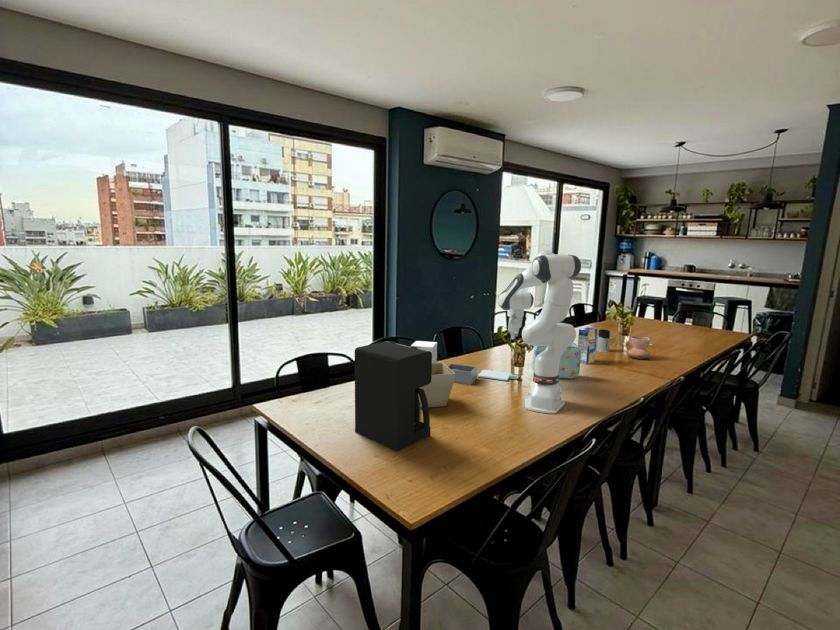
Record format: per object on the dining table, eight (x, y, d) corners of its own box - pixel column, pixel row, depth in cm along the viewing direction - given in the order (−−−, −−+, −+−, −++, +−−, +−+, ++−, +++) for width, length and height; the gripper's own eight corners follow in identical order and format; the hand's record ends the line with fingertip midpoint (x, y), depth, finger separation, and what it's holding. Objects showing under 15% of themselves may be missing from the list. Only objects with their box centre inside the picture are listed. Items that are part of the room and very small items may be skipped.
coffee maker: (439, 438, 173) (441, 351, 167) (405, 455, 158) (406, 360, 153) (389, 418, 191) (389, 339, 186) (354, 432, 177) (353, 347, 171)
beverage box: (576, 362, 289) (578, 329, 286) (585, 359, 296) (587, 327, 293) (586, 364, 284) (588, 330, 281) (594, 361, 291) (597, 328, 288)
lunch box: (577, 375, 261) (579, 339, 257) (581, 380, 250) (584, 343, 247) (531, 373, 263) (533, 337, 260) (533, 378, 253) (535, 341, 250)
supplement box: (409, 374, 256) (410, 345, 253) (415, 368, 268) (415, 340, 265) (432, 376, 253) (432, 346, 250) (436, 370, 265) (437, 342, 262)
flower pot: (415, 412, 199) (415, 376, 197) (405, 397, 218) (405, 364, 215) (454, 408, 205) (455, 373, 202) (441, 394, 223) (442, 362, 220)
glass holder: (600, 348, 328) (601, 329, 326) (618, 352, 317) (620, 332, 315) (593, 350, 323) (595, 330, 320) (612, 354, 312) (614, 333, 309)
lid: (515, 383, 244) (516, 379, 243) (477, 378, 252) (477, 373, 252) (520, 377, 255) (520, 373, 255) (483, 372, 264) (483, 368, 264)
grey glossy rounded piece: (457, 377, 249) (457, 370, 248) (450, 376, 250) (451, 369, 249) (459, 375, 252) (459, 368, 251) (453, 374, 253) (453, 368, 253)
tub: (470, 384, 239) (471, 372, 238) (443, 380, 245) (443, 368, 244) (477, 378, 250) (477, 366, 249) (450, 375, 256) (450, 363, 255)
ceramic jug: (656, 359, 301) (658, 338, 299) (645, 361, 292) (647, 340, 290) (630, 354, 315) (631, 334, 313) (619, 356, 307) (621, 336, 305)
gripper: (517, 315, 234) (516, 341, 236) (524, 311, 253) (523, 335, 255) (505, 315, 237) (504, 340, 239) (513, 310, 255) (512, 334, 257)
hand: (514, 337), depth 247 cm, fingers open, 8 cm apart
